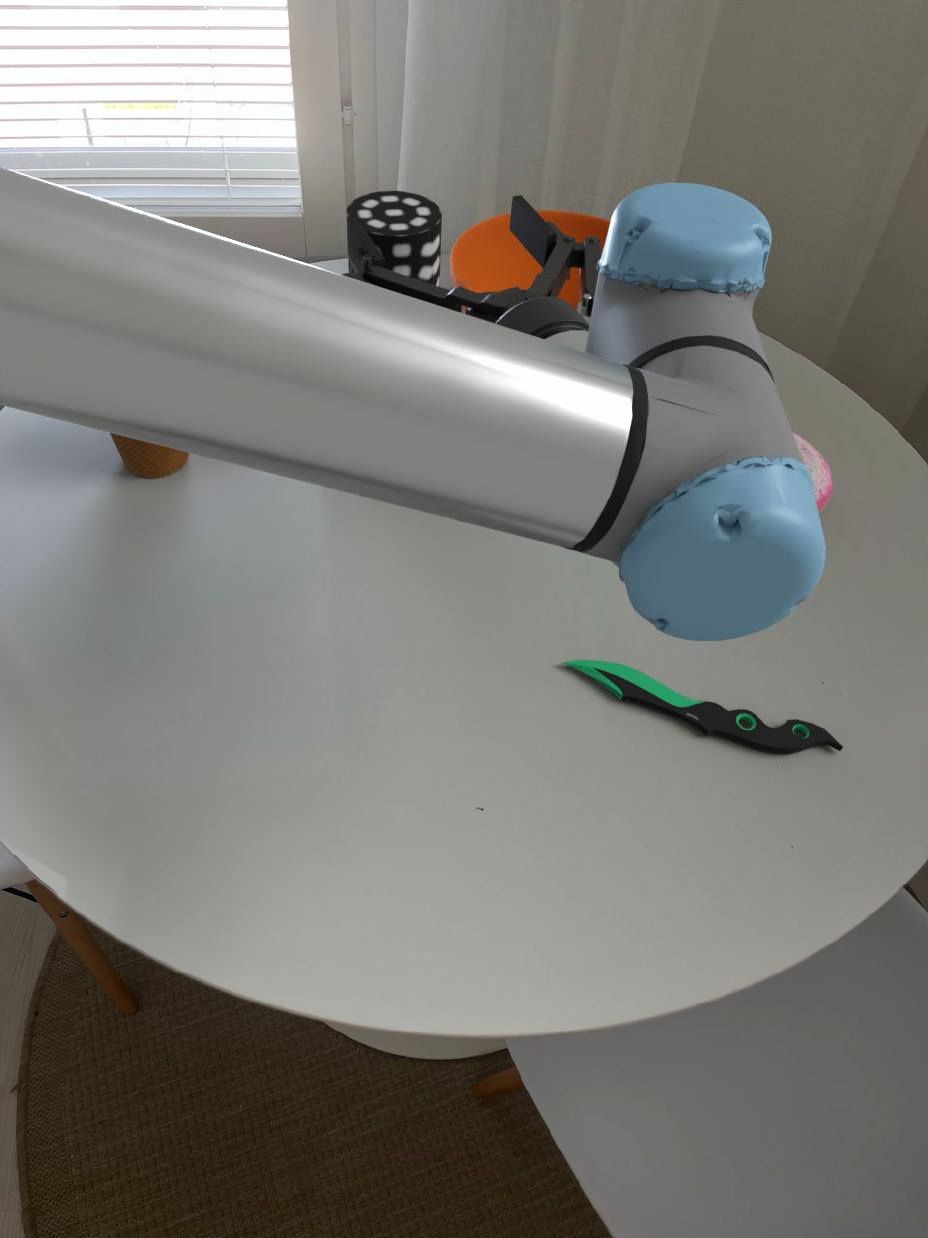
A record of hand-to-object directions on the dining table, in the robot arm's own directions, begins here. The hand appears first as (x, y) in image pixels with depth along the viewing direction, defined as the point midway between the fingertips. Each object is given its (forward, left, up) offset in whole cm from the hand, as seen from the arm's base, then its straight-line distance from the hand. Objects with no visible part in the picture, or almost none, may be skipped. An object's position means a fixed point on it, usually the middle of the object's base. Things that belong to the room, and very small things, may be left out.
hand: (435, 222), depth 71 cm
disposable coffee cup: (-20, -19, -27) cm, 39 cm away
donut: (+22, +25, -27) cm, 43 cm away
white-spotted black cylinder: (-9, +3, -24) cm, 26 cm away
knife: (+35, -1, -27) cm, 44 cm away
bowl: (-10, +28, -27) cm, 40 cm away
